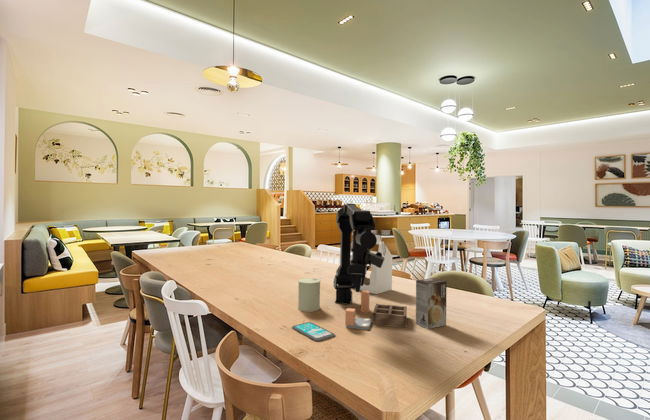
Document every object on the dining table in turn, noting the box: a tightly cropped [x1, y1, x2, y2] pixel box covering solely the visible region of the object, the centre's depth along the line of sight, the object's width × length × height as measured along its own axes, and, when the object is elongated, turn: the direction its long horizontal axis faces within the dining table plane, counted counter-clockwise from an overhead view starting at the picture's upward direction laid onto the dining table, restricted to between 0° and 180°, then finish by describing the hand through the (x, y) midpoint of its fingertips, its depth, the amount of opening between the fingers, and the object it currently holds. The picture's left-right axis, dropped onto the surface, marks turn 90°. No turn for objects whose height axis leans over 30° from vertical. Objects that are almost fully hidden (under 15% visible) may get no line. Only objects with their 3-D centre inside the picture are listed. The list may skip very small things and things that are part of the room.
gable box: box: [350, 234, 393, 295], centre depth 171 cm, size 22×13×28 cm, turn 43°
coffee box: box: [415, 277, 447, 330], centre depth 119 cm, size 9×6×16 cm
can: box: [297, 277, 321, 313], centre depth 136 cm, size 9×9×12 cm
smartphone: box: [291, 321, 336, 343], centre depth 111 cm, size 9×1×15 cm
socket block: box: [372, 303, 408, 328], centre depth 123 cm, size 12×12×4 cm
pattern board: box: [344, 307, 373, 331], centre depth 118 cm, size 8×8×6 cm
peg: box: [360, 290, 370, 314], centre depth 133 cm, size 3×3×8 cm
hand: (359, 288), depth 118 cm, fingers open, 9 cm apart
